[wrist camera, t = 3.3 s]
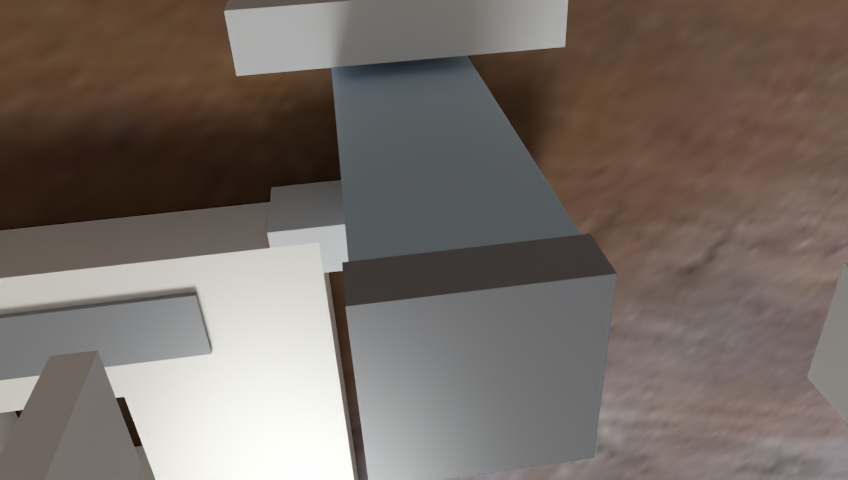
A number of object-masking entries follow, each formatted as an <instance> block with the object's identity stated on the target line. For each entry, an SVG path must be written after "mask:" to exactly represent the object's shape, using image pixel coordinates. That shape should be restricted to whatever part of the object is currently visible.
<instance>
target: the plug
mask: <svg viewBox="0 0 848 480" xmlns="http://www.w3.org/2000/svg"><path fill="white" fill-rule="evenodd" d="M331 70H332V81H333V93H334V104H335V115H336V127H337V138H338V149H339V161H340V172H341V183H342V195H343V206H344V218H345V229H346V240H347V252H348V262H342V268H343V281H344V295H345V308H346V315H347V323H348V330H349V338H350V345H351V353H352V360H353V368H354V375H355V383H356V391H357V398H358V406H359V413H360V421H361V428H362V436H363V443H364V451H365V458H366V466H367V474H368V480H446V479H453V478H459V477H466V476H473V475H480V474H487V473H493V472H500V471H507V470H514V469H521V468H527V467H534V466H541V465H548V464H555V463H562V462H568V461H575V460H582V459H589V458H594V452H595V444H596V436H597V428H598V420H599V412H600V404H601V396H602V388H603V380H604V372H605V364H606V356H607V348H608V340H609V332H610V324H611V316H612V308H613V300H614V292H615V284H616V276H617V273H616V272H615V270H614V269H613V267H612V266H611V264H610V263H609V261H608V260H607V258H606V257H605V255H604V254H603V252H602V251H601V249H600V247H599V246H598V244H597V243H596V241H595V240H594V238H593V237H592V235H591V234H583V235H581V233H580V232H579V230H578V229H577V227H576V226H575V224H574V222H573V221H572V219H571V218H570V216H569V215H568V213H567V212H566V210H565V208H564V207H563V205H562V204H561V202H560V201H559V199H558V197H557V196H556V194H555V193H554V191H553V190H552V188H551V186H550V185H549V183H548V182H547V180H546V179H545V177H544V175H543V174H542V172H541V171H540V169H539V168H538V166H537V164H536V163H535V161H534V160H533V158H532V157H531V155H530V153H529V152H528V150H527V149H526V147H525V146H524V144H523V142H522V141H521V139H520V138H519V136H518V135H517V133H516V131H515V130H514V128H513V127H512V125H511V124H510V122H509V120H508V119H507V117H506V116H505V114H504V113H503V111H502V109H501V108H500V106H499V105H498V103H497V102H496V100H495V98H494V97H493V95H492V94H491V92H490V91H489V89H488V87H487V86H486V84H485V83H484V81H483V80H482V78H481V76H480V75H479V73H478V72H477V70H476V69H475V67H474V65H473V64H472V62H471V61H470V59H469V58H468V56H456V57H445V58H433V59H422V60H411V61H400V62H388V63H377V64H366V65H355V66H343V67H332V68H331Z"/></svg>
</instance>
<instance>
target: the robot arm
mask: <svg viewBox="0 0 848 480" xmlns="http://www.w3.org/2000/svg"><path fill="white" fill-rule="evenodd" d="M807 378H808V379H809V380H810V381H811V382H812V383H813V385H814V386H815V387H816V388H817V389H818V390H819V392H820V393H821V394H822V395H823V396H824V397H825V398H826V400H827V401H828V402H829V403H830V404H831V405H832V406H833V408H834V409H835V410H836V411H837V412H838V413H839V415H840V416H841V417H842V418H843V419H844V420H845V421H846V423H847V424H848V263H845V264H844V265H843V268H842V271H841V274H840V277H839V280H838V283H837V286H836V289H835V293H834V296H833V299H832V302H831V305H830V308H829V311H828V314H827V317H826V320H825V323H824V327H823V330H822V333H821V336H820V339H819V342H818V345H817V348H816V351H815V354H814V357H813V361H812V364H811V367H810V370H809V373H808V376H807ZM140 466H141V463H140V460H139V458H138V455H137V452H136V450H135V447H134V444H133V442H132V439H131V437H130V434H129V431H128V429H127V426H126V423H125V421H124V418H123V416H122V413H121V410H120V408H119V405H118V402H117V400H116V397H115V395H114V392H113V389H112V387H111V384H110V381H109V379H108V376H107V374H106V371H105V368H104V366H103V363H102V360H101V358H100V355H99V353H98V351H89V352H80V353H72V354H63V355H55V356H50V357H49V359H48V361H47V363H46V365H45V367H44V369H43V371H42V373H41V375H40V377H39V379H38V381H37V383H36V385H35V387H34V389H33V391H32V393H31V395H30V397H29V399H28V401H27V403H26V405H25V407H24V409H23V411H22V413H21V415H20V417H19V419H18V421H17V423H16V425H15V427H14V429H13V431H12V433H11V435H10V437H9V439H8V441H7V443H6V445H5V447H4V449H3V451H2V453H1V455H0V480H137V477H138V473H139V470H140Z"/></svg>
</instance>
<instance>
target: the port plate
mask: <svg viewBox="0 0 848 480" xmlns="http://www.w3.org/2000/svg"><path fill="white" fill-rule="evenodd" d="M269 207H270V202H264V203H255V204H246V205H236V206H227V207H217V208H208V209H199V210H189V211H180V212H170V213H161V214H151V215H142V216H133V217H123V218H114V219H104V220H95V221H85V222H76V223H67V224H57V225H48V226H38V227H29V228H19V229H10V230H1V231H0V455H1V453H2V451H3V449H4V447H5V445H6V443H7V441H8V439H9V437H10V435H11V433H12V431H13V429H14V427H15V425H16V423H17V421H18V419H19V418H18V416H17V414H16V412H15V411H18V410H23V409H24V407H25V405H26V403H27V401H28V399H29V397H30V395H31V393H32V391H33V389H34V387H35V385H36V383H37V381H38V379H39V377H40V375H41V373H42V371H43V369H44V367H45V365H46V363H47V361H48V359H49V357H50V356H55V355H63V354H72V353H80V352H89V351H98V353H99V355H100V358H101V360H102V363H103V366H104V368H105V371H106V374H107V376H108V379H109V381H110V384H111V387H112V389H113V392H114V395H115V397H116V398H119V397H124V398H125V400H126V403H127V405H128V408H129V411H130V413H131V416H132V419H133V421H134V424H135V427H136V429H137V432H138V435H139V437H140V440H141V442H142V445H143V446H137V447H135V450H136V452H137V455H138V458H139V460H140V463H141V466H140V470H139V473H138V477H137V480H358V473H357V466H356V459H355V452H354V445H353V438H352V431H351V424H350V417H349V410H348V403H347V396H346V389H345V382H344V375H343V368H342V361H341V355H340V348H339V341H338V334H337V327H336V320H335V313H334V306H333V299H332V292H331V285H330V278H329V272H327V273H323V267H322V260H321V253H320V246H319V243H310V244H301V245H292V246H283V247H274V248H270V246H269V240H268V235H267V228H268V217H269Z"/></svg>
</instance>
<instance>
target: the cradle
mask: <svg viewBox="0 0 848 480" xmlns="http://www.w3.org/2000/svg"><path fill="white" fill-rule="evenodd" d="M567 8H568V0H228V2H227V4H226V7H225V9H224V14H225V19H226V24H227V29H228V34H229V40H230V45H231V50H232V55H233V60H234V65H235V70H236V76H242V75H253V74H265V73H276V72H287V71H298V70H310V69H321V68H332V67H343V66H355V65H366V64H377V63H388V62H400V61H411V60H422V59H433V58H445V57H456V56H467V55H478V54H490V53H501V52H512V51H523V50H535V49H546V48H557V47H565V40H566V24H567ZM267 235H268V240H269V246H270V248H274V247H283V246H292V245H301V244H310V243H319V246H320V253H321V260H322V267H323V273H327V272H336V271H343V268H342V262H348V252H347V240H346V229H345V218H344V206H343V195H342V183H341V180H337V181H327V182H318V183H308V184H298V185H289V186H279V187H271V197H270V207H269V217H268V228H267Z"/></svg>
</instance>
